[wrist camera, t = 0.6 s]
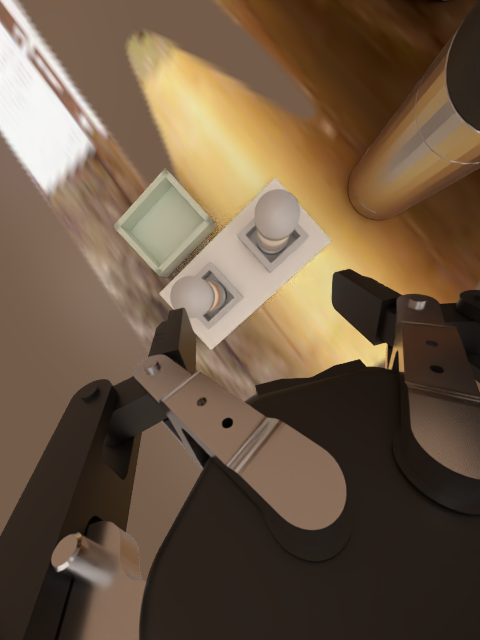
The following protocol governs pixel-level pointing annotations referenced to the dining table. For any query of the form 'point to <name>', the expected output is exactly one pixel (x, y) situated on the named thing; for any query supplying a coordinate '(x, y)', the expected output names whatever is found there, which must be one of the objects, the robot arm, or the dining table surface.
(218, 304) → the ball
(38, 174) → the dining table surface
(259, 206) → the fuse
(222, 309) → the fuse board
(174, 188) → the parts tray
